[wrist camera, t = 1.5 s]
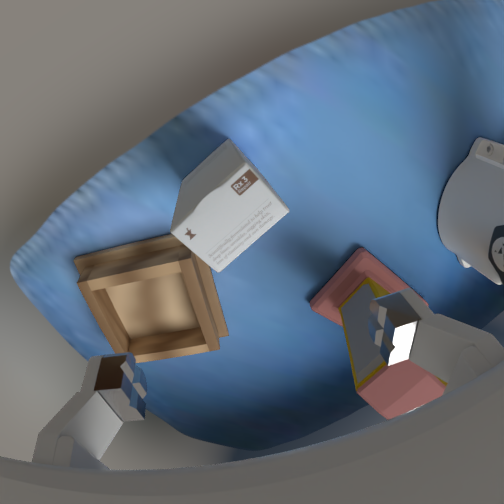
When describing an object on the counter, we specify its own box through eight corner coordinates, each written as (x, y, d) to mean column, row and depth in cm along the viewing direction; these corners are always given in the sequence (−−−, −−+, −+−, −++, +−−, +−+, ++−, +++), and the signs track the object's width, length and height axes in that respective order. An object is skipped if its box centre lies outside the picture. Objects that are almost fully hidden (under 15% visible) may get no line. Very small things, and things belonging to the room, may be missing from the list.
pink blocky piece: (290, 292, 36) (358, 464, 18) (344, 231, 34) (464, 384, 15) (390, 348, 45) (453, 458, 26) (432, 306, 42) (511, 410, 23)
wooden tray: (199, 227, 31) (199, 245, 28) (228, 331, 38) (231, 353, 34) (75, 256, 30) (64, 276, 27) (123, 349, 37) (118, 371, 34)
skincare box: (212, 210, 30) (219, 281, 20) (178, 178, 28) (164, 235, 18) (260, 167, 29) (296, 216, 18) (228, 132, 27) (245, 160, 16)
